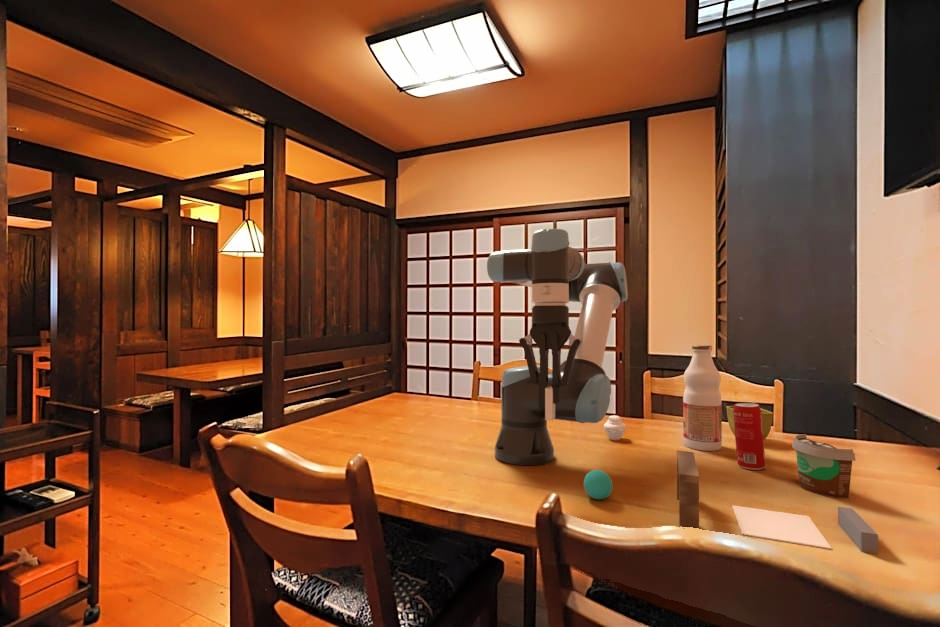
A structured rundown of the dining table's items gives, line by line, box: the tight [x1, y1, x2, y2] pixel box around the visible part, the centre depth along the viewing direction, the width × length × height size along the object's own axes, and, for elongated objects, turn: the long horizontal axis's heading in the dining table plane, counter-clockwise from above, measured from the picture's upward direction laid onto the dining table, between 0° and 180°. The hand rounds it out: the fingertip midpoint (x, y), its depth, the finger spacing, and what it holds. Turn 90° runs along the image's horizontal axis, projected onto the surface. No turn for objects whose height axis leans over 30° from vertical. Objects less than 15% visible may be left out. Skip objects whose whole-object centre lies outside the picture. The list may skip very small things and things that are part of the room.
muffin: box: [603, 414, 626, 441], centre depth 133 cm, size 6×6×7 cm
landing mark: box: [731, 504, 833, 550], centre depth 78 cm, size 12×12×1 cm
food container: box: [791, 433, 856, 499], centre depth 94 cm, size 12×6×10 cm, turn 5°
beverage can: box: [733, 402, 767, 471], centre depth 108 cm, size 6×6×15 cm
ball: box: [583, 469, 613, 500], centre depth 90 cm, size 6×6×6 cm
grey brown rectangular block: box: [676, 449, 700, 529], centre depth 84 cm, size 3×14×9 cm, turn 157°
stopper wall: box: [837, 506, 879, 555], centre depth 74 cm, size 2×10×3 cm, turn 157°
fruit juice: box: [682, 344, 723, 452], centre depth 125 cm, size 9×9×28 cm
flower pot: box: [725, 405, 774, 441], centre depth 130 cm, size 9×9×9 cm
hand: (550, 418), depth 93 cm, fingers closed
